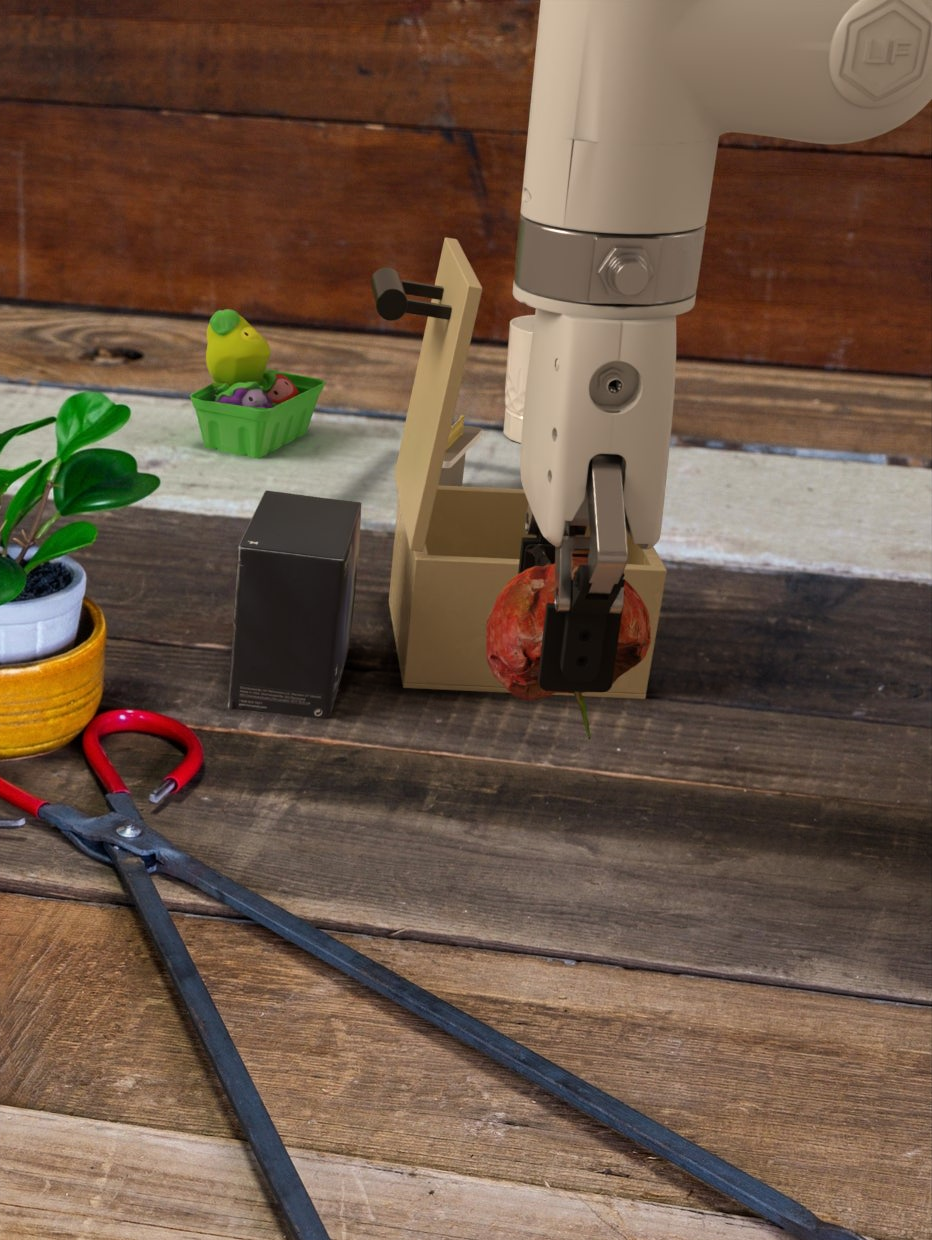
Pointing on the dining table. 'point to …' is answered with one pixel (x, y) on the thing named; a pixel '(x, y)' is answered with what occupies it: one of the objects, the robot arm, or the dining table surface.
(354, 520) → the small box
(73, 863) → the dining table surface
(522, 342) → the white cup
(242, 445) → the fruit basket
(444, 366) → the lid
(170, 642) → the dining table surface
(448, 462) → the platform
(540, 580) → the red round fruit
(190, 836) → the dining table surface
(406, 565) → the tan open box
